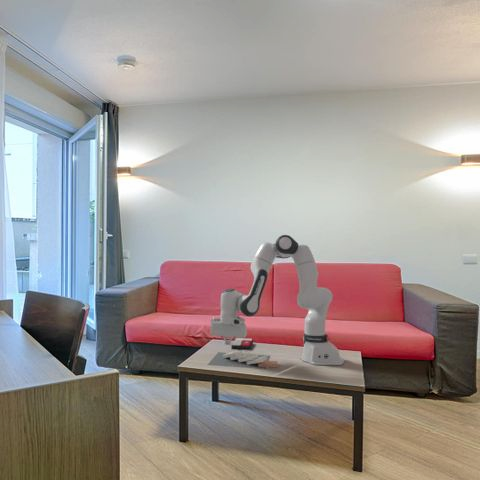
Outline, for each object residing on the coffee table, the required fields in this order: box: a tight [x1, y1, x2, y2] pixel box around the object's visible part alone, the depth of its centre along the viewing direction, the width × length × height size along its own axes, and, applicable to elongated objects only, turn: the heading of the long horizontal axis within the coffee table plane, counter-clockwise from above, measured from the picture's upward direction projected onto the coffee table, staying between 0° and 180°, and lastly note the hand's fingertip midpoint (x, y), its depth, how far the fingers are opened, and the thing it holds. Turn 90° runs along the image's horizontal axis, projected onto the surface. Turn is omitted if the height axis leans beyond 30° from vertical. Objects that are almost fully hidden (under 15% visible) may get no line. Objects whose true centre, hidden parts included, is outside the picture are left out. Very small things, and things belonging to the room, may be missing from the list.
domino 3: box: [238, 353, 259, 362], centre depth 198 cm, size 2×5×10 cm
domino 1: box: [222, 350, 243, 358], centre depth 205 cm, size 2×5×10 cm
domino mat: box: [207, 352, 271, 370], centre depth 203 cm, size 30×23×1 cm
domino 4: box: [246, 356, 268, 365], centre depth 195 cm, size 2×5×10 cm
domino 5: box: [258, 360, 279, 368], centre depth 195 cm, size 2×5×10 cm
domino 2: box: [230, 352, 251, 360], centre depth 202 cm, size 2×5×10 cm
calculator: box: [230, 337, 254, 351], centre depth 231 cm, size 11×4×15 cm
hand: (228, 344), depth 207 cm, fingers closed
